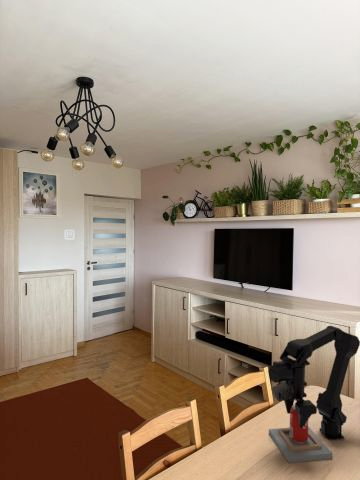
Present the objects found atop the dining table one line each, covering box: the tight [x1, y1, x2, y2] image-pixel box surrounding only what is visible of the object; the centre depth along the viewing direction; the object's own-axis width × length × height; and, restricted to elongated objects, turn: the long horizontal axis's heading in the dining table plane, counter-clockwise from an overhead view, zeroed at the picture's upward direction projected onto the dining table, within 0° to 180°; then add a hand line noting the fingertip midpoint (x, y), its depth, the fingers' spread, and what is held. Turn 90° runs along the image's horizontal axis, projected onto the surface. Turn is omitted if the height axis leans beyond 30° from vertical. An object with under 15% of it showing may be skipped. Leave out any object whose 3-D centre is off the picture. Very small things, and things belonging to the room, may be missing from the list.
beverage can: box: [289, 403, 309, 444], centre depth 124 cm, size 6×6×12 cm
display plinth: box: [268, 426, 333, 464], centre depth 124 cm, size 16×16×3 cm
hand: (294, 420), depth 123 cm, fingers open, 9 cm apart
